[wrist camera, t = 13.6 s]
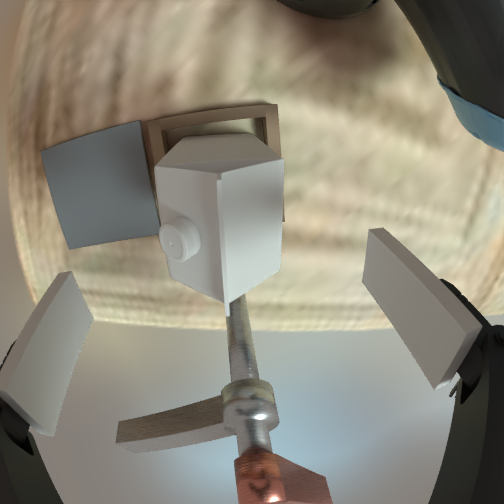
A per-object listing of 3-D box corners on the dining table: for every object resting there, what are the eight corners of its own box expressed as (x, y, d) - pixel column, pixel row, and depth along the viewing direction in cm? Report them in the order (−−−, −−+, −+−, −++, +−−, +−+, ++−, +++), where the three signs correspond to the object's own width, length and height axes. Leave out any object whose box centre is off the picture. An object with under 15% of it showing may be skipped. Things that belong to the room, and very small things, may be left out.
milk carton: (252, 132, 28) (306, 177, 11) (252, 196, 31) (295, 310, 15) (183, 136, 27) (132, 187, 11) (188, 200, 31) (160, 320, 14)
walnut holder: (152, 120, 26) (147, 121, 24) (272, 104, 26) (277, 104, 24) (172, 227, 32) (169, 237, 30) (279, 213, 33) (284, 221, 30)
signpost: (200, 332, 39) (205, 525, 16) (149, 274, 34) (102, 503, 10) (277, 297, 38) (337, 503, 14) (234, 227, 32) (281, 496, 9)
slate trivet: (43, 150, 25) (40, 151, 24) (140, 120, 26) (139, 120, 25) (71, 247, 31) (69, 249, 31) (162, 231, 32) (161, 233, 31)
